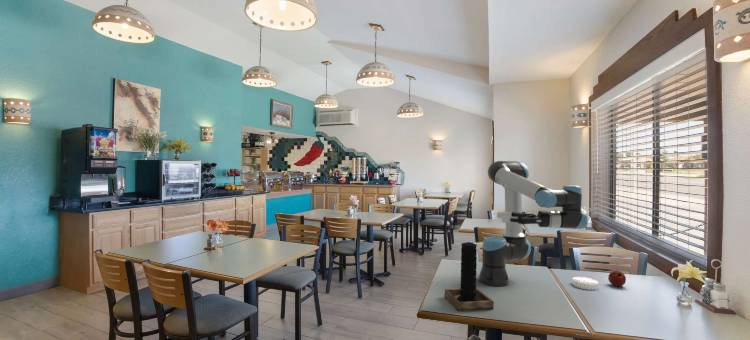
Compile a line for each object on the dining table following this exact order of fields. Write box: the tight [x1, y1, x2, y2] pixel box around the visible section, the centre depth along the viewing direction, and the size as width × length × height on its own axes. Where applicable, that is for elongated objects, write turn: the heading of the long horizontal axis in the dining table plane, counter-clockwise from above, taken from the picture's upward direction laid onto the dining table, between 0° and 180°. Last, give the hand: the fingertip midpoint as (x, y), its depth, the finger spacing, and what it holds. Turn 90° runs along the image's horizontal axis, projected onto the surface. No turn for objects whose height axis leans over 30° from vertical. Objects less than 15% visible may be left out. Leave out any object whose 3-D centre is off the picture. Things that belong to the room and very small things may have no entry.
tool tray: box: [444, 287, 494, 312], centre depth 155 cm, size 16×16×4 cm
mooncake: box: [571, 276, 600, 291], centre depth 179 cm, size 12×12×4 cm
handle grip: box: [457, 241, 479, 302], centre depth 155 cm, size 10×26×10 cm
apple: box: [607, 270, 627, 287], centre depth 180 cm, size 7×8×8 cm
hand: (499, 217), depth 161 cm, fingers open, 13 cm apart
